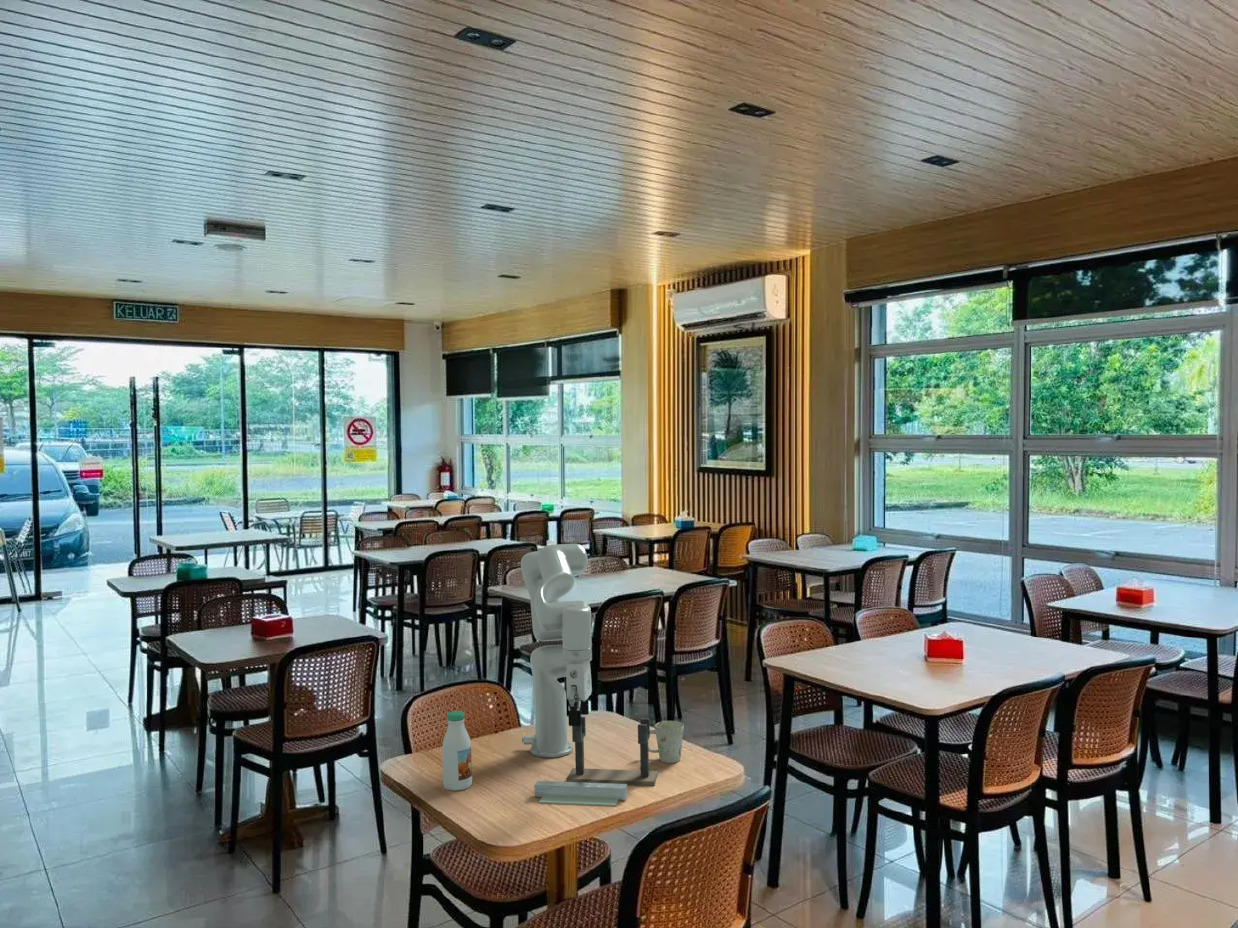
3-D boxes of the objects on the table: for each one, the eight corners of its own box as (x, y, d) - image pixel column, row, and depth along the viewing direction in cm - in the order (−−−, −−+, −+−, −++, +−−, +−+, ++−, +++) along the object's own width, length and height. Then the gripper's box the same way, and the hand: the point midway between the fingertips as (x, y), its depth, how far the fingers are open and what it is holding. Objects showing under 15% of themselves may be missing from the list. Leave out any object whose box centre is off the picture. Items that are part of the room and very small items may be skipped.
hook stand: (566, 782, 249) (564, 724, 248) (572, 772, 257) (571, 715, 256) (654, 785, 245) (652, 726, 245) (657, 775, 253) (656, 717, 252)
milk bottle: (448, 793, 243) (446, 718, 243) (439, 784, 250) (437, 711, 250) (476, 787, 247) (474, 714, 246) (467, 778, 254) (465, 707, 253)
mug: (682, 764, 260) (681, 730, 260) (639, 762, 263) (638, 728, 263) (686, 755, 268) (685, 721, 268) (644, 753, 271) (643, 719, 271)
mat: (539, 803, 235) (539, 801, 235) (547, 789, 244) (547, 788, 244) (616, 805, 232) (615, 804, 232) (621, 792, 241) (621, 791, 241)
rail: (534, 796, 239) (534, 784, 238) (537, 791, 241) (537, 780, 241) (625, 799, 235) (625, 788, 235) (627, 795, 238) (627, 783, 238)
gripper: (585, 662, 228) (586, 730, 229) (597, 646, 245) (599, 710, 246) (555, 662, 229) (557, 729, 230) (570, 646, 246) (571, 709, 247)
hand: (578, 719), depth 238 cm, fingers open, 9 cm apart
